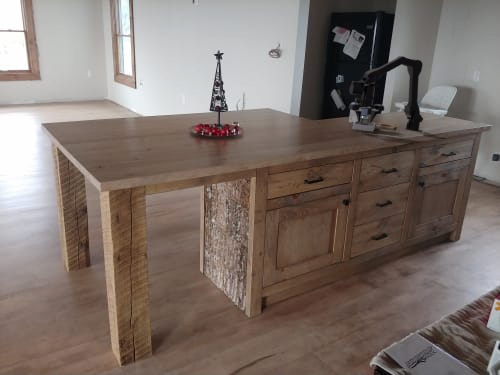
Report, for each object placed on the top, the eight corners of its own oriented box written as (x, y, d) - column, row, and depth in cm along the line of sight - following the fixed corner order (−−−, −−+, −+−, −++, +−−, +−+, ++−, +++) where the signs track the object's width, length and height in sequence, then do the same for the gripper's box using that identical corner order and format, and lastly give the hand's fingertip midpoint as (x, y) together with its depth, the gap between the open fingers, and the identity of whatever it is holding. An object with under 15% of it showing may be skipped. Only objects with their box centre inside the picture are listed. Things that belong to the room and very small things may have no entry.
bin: (374, 129, 257) (375, 122, 256) (372, 133, 247) (373, 126, 246) (354, 127, 261) (355, 120, 259) (352, 130, 251) (352, 123, 249)
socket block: (394, 128, 263) (395, 125, 262) (393, 131, 254) (394, 127, 253) (377, 126, 266) (377, 123, 266) (375, 129, 257) (375, 125, 257)
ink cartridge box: (366, 125, 270) (369, 100, 265) (359, 125, 267) (362, 100, 263) (355, 121, 278) (358, 98, 273) (348, 122, 275) (351, 98, 271)
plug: (369, 130, 252) (371, 117, 250) (361, 130, 251) (362, 117, 249) (365, 128, 256) (367, 116, 254) (357, 128, 256) (359, 115, 253)
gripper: (377, 93, 256) (374, 120, 262) (346, 92, 253) (343, 119, 258) (386, 95, 246) (382, 124, 251) (354, 94, 243) (350, 123, 248)
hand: (364, 122), depth 252 cm, fingers open, 7 cm apart
